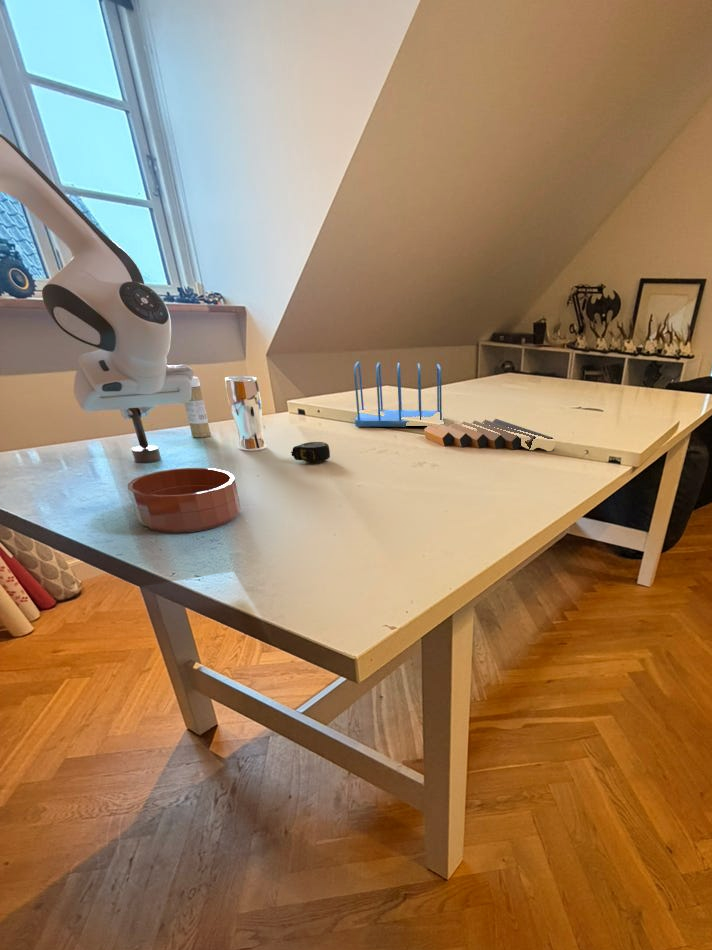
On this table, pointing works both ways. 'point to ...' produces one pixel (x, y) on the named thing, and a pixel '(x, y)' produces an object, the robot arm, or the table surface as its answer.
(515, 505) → the table surface
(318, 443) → the tape measure
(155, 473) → the bowl
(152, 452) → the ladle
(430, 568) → the table surface
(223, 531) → the table surface
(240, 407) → the beer glass
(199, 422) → the sprinkles bottle
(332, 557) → the table surface
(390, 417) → the file sorter
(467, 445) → the pan flute
